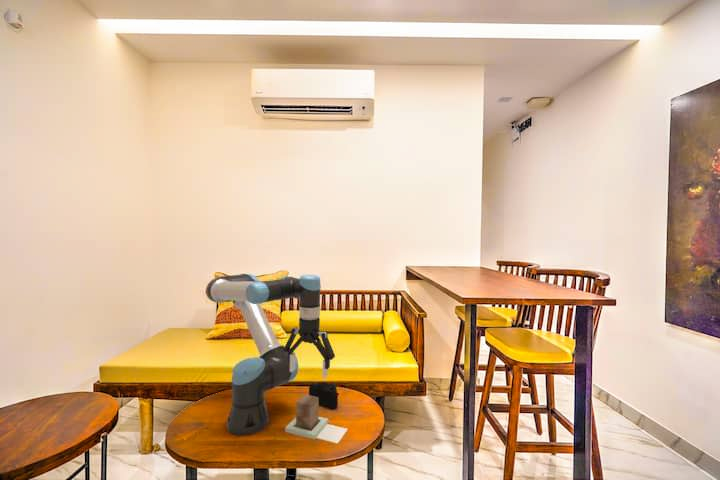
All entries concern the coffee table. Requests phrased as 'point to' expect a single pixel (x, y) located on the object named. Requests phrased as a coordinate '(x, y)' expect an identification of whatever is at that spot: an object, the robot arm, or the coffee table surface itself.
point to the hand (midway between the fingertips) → (308, 373)
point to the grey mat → (332, 433)
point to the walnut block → (307, 412)
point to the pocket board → (312, 434)
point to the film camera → (325, 394)
